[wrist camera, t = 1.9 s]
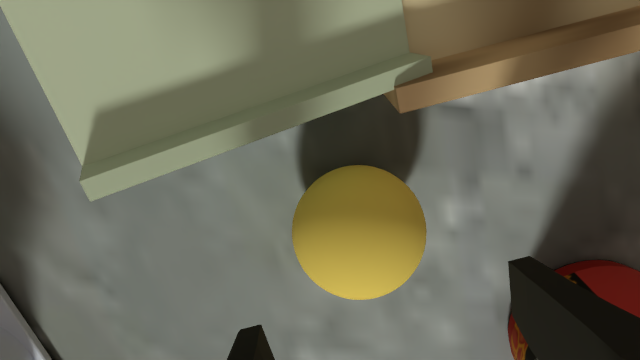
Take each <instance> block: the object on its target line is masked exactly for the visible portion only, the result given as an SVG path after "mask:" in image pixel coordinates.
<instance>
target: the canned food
mask: <svg viewBox="0 0 640 360" xmlns="http://www.w3.org/2000/svg"><path fill="white" fill-rule="evenodd" d="M554 271H555V272H557V273H558V274H560V275H562V276H563V277H565V278H567V279H569V280H570V281H572V282H574V283H575V284H577V285H579V286H580V287H582V288H584V289H586V290H588V291H589V292H591V293H593V294H595V295H596V296H598V297H600V298H602V299H604V300H606V301H608V302H609V303H611V304H613V305H615V306H617V307H619V308H621V309H623V310H625V311H627V312H629V313H631V314H633V315H635V316H637V317H639V318H640V272H639V271H637V270H635V269H633V268H630V267H628V266H626V265H623V264H620V263H616V262H613V261H606V260H589V261H581V262H577V263H573V264H569V265H567V266H564V267H562V268H559V269H557V270H554ZM508 336H509V342H510V347H511V352H512V355H513V357H514V359H515V360H537V358H536V357H535V355H534V354H533V352H532V351H531V349H530V348H529V346H528V344H527V342H526V341H525V339H524V337H523V335H522V333H521V332H520V330H519V328H518V326H517V324H516V322H515V320H514V318H513V316H512V314H511V316H510V319H509V325H508Z"/></svg>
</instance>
